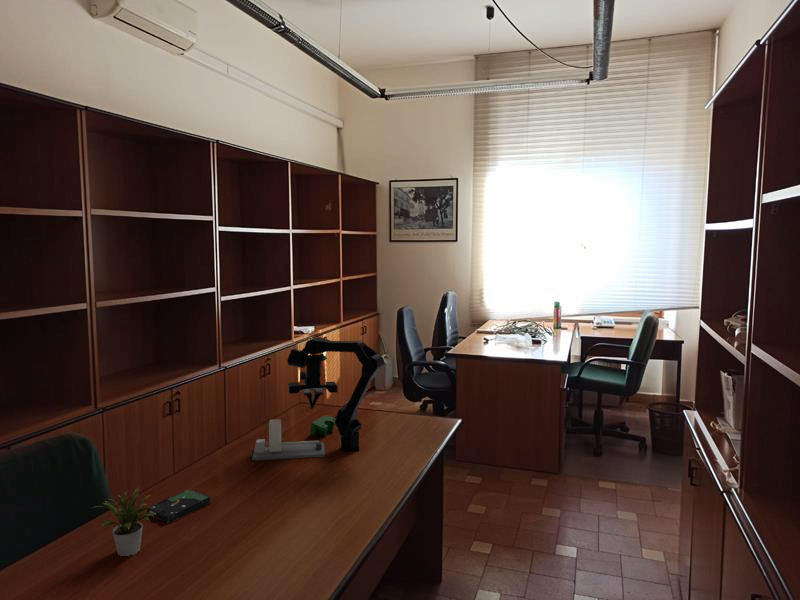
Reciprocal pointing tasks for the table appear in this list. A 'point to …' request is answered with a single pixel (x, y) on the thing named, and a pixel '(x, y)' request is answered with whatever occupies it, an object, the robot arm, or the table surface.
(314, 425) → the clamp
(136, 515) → the house plant
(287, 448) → the flat grey panel
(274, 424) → the stepped pale block
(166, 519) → the disk drive
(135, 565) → the table surface
